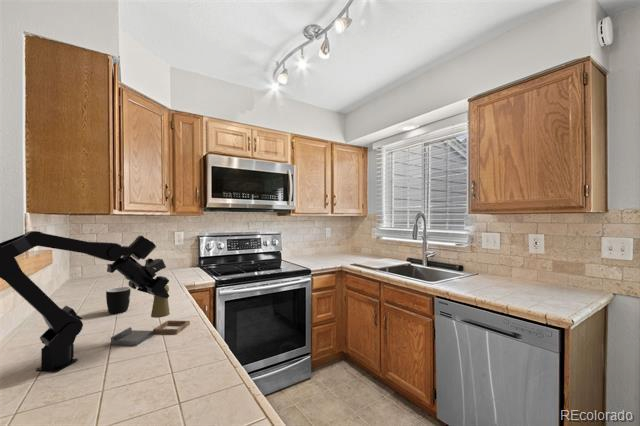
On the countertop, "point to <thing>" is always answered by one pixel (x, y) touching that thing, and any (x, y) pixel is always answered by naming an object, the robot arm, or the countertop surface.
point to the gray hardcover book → (130, 337)
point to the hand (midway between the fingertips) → (164, 296)
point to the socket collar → (171, 331)
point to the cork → (160, 306)
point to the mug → (118, 299)
